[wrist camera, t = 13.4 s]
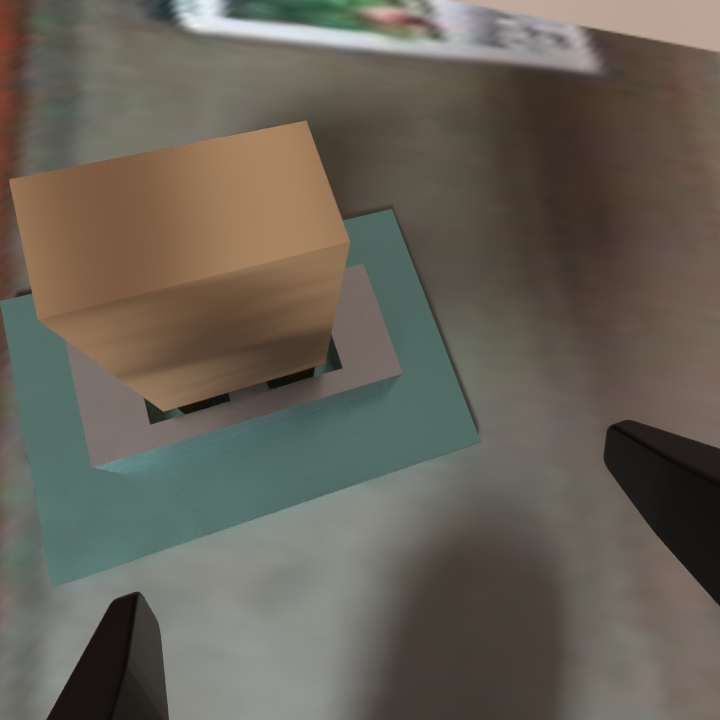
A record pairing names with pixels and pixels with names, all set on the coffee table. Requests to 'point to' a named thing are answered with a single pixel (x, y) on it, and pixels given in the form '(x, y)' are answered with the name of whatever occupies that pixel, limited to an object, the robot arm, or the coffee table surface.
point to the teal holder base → (234, 422)
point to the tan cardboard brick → (190, 262)
